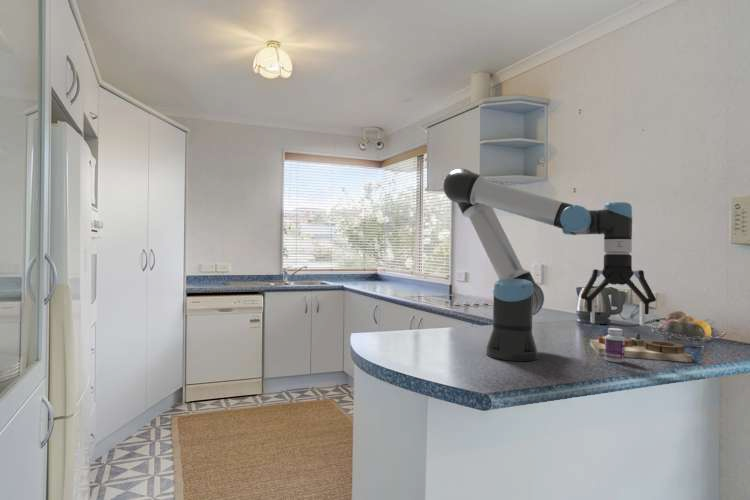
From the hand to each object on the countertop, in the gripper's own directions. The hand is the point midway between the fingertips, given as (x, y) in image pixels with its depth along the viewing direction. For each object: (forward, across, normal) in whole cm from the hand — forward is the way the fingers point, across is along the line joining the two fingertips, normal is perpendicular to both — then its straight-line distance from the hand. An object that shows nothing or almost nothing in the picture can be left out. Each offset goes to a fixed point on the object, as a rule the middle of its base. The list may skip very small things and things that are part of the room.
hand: (616, 324), depth 142 cm
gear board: (+11, +9, +16) cm, 22 cm away
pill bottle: (+11, -1, 0) cm, 11 cm away
